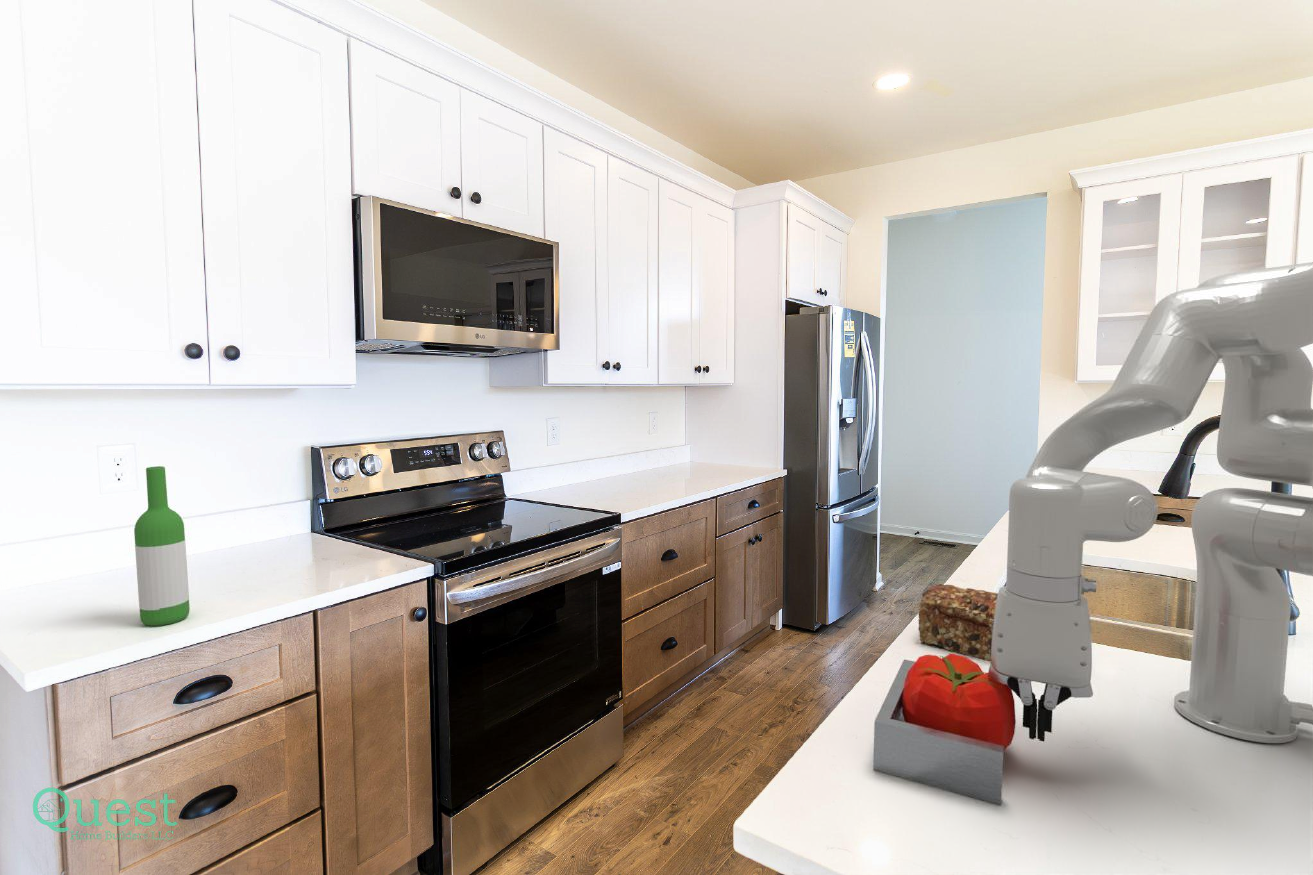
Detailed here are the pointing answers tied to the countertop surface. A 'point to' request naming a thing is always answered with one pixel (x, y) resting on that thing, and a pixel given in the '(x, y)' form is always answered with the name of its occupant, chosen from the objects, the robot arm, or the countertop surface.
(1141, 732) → the countertop surface
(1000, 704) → the tomato
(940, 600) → the bread
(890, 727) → the grey u-shaped bracket
